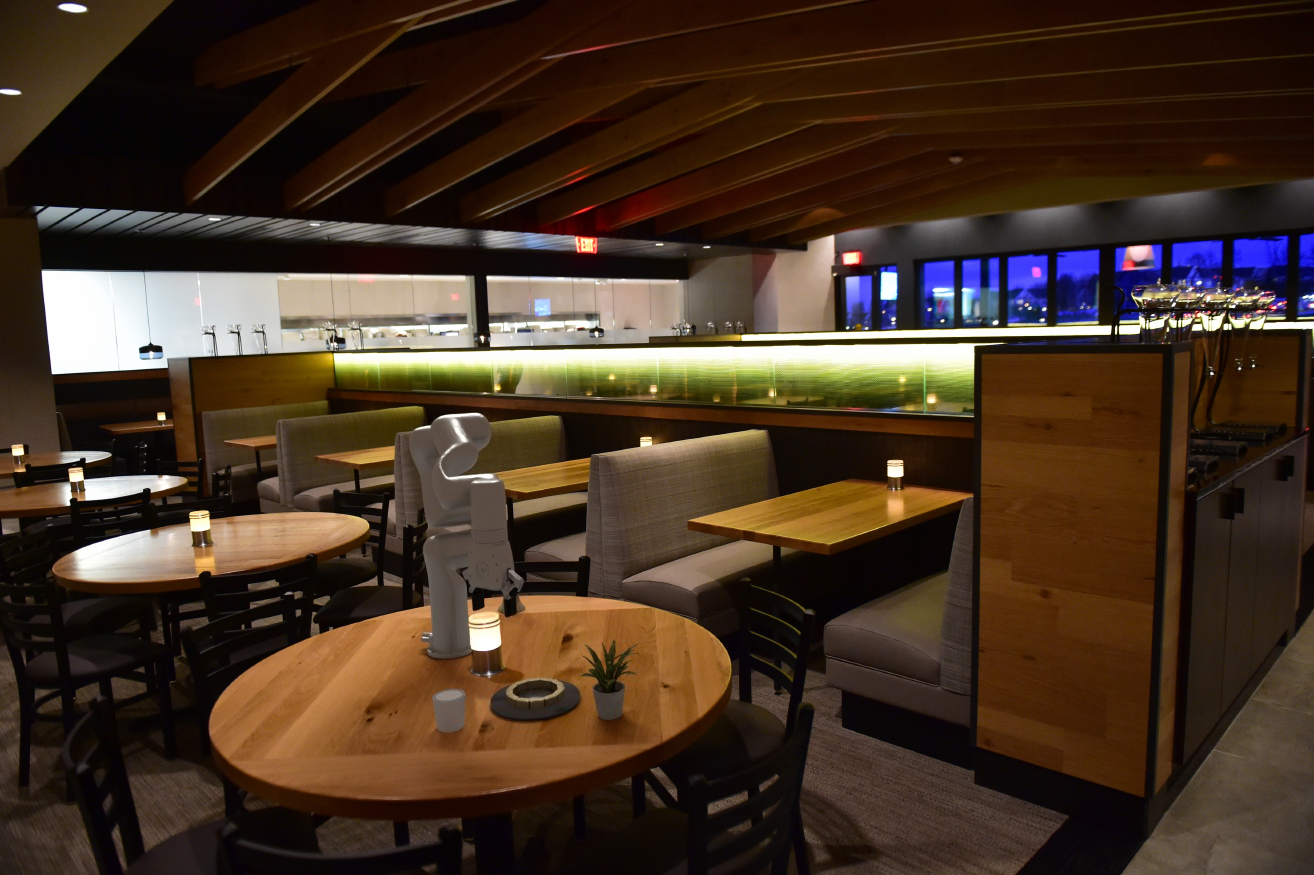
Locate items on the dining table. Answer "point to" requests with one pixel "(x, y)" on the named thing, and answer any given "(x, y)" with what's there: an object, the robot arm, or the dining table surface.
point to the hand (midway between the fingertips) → (494, 612)
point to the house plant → (609, 682)
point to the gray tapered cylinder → (449, 710)
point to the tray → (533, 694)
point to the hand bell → (519, 605)
